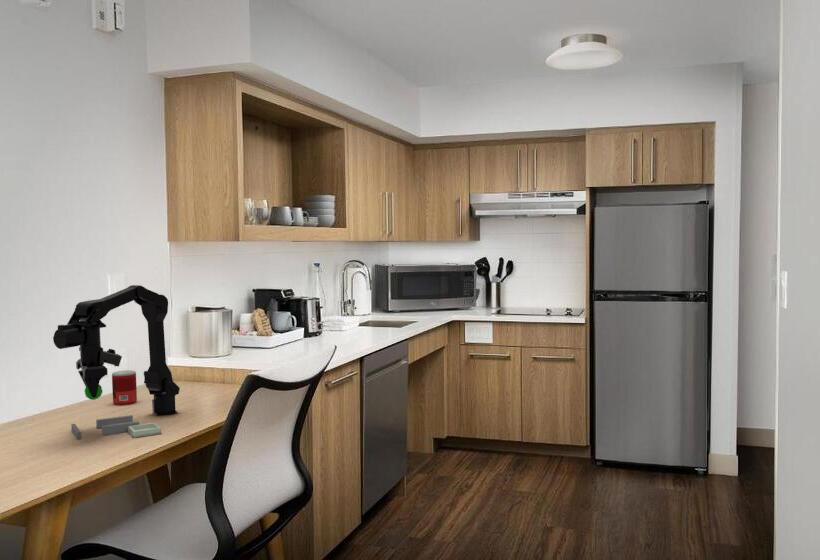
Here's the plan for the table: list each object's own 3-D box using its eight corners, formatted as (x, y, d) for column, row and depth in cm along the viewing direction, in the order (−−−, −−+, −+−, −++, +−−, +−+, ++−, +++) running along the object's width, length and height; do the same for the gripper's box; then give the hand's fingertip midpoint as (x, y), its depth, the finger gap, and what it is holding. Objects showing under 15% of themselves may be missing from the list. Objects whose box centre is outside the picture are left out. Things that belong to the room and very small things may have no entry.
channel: (131, 422, 238) (131, 414, 238) (140, 430, 228) (139, 422, 228) (71, 430, 229) (71, 422, 229) (77, 439, 219) (77, 430, 218)
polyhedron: (85, 398, 227) (84, 382, 226) (102, 396, 229) (102, 380, 228) (84, 401, 222) (84, 385, 222) (102, 399, 224) (102, 384, 224)
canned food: (141, 402, 268) (140, 371, 267) (122, 406, 261) (121, 375, 260) (127, 399, 272) (126, 369, 271) (108, 404, 265) (107, 373, 264)
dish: (155, 428, 230) (155, 422, 230) (161, 433, 223) (161, 427, 223) (127, 432, 226) (127, 426, 226) (133, 438, 219) (133, 431, 219)
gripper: (124, 345, 220) (127, 397, 221) (113, 338, 236) (115, 387, 237) (83, 349, 214) (86, 403, 215) (74, 341, 230) (77, 391, 231)
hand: (92, 395), depth 225 cm, fingers closed on polyhedron, 5 cm apart
